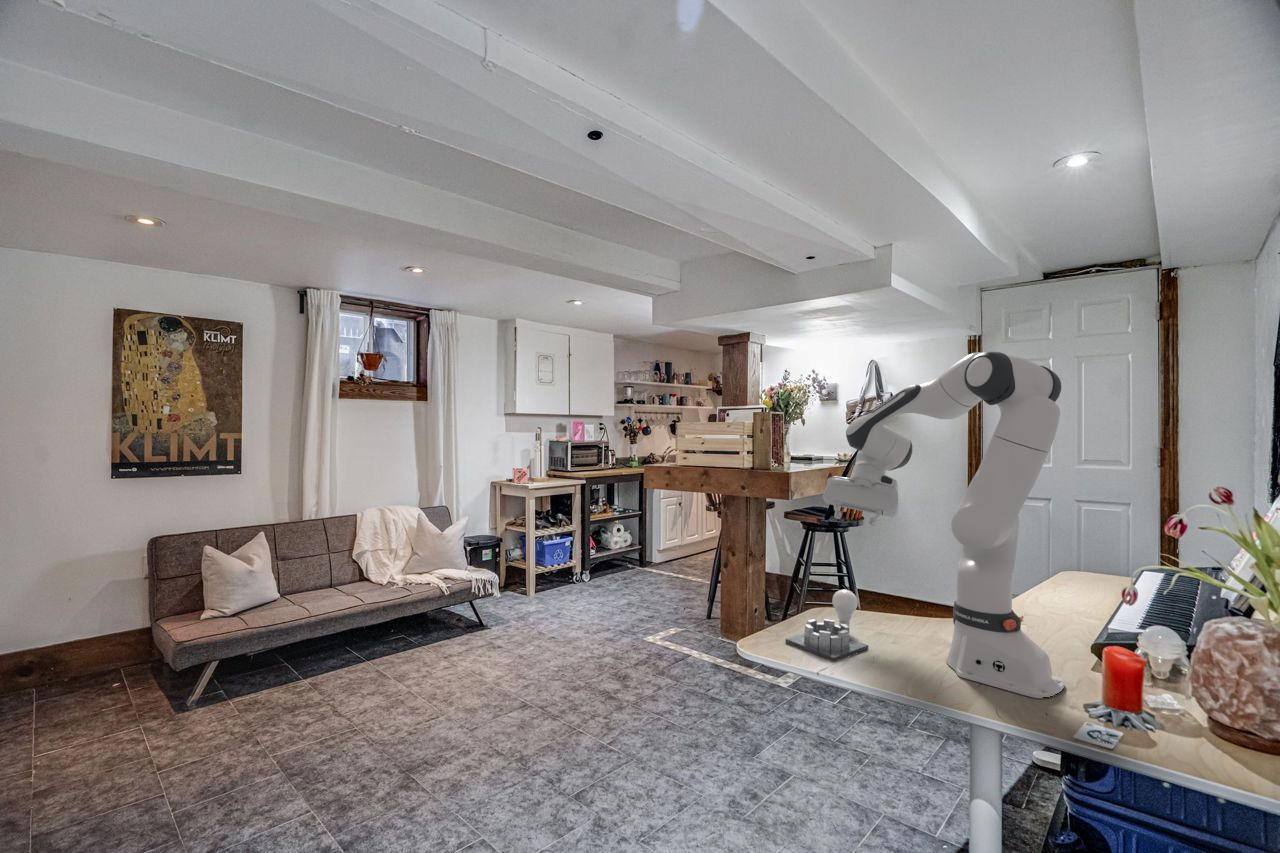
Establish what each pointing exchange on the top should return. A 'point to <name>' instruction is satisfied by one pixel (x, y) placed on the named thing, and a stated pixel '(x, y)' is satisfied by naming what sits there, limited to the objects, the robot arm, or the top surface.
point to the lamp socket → (827, 640)
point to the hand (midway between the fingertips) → (854, 521)
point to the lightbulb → (844, 605)
